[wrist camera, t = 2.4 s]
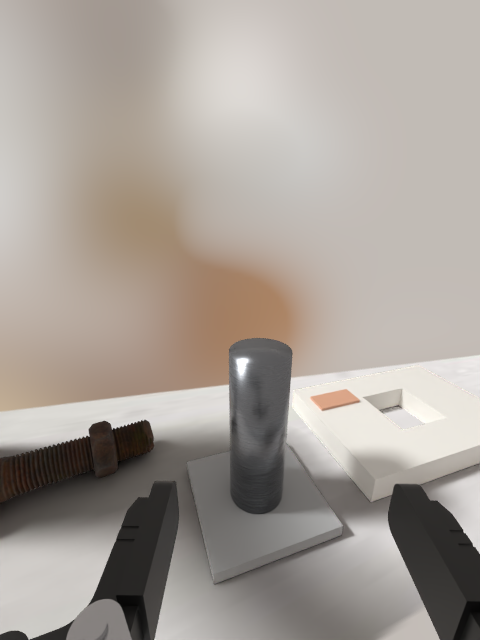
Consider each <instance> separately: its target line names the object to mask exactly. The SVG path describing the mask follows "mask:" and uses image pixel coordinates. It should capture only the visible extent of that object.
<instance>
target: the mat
mask: <svg viewBox="0 0 480 640" xmlns="http://www.w3.org/2000/svg"><path fill="white" fill-rule="evenodd" d="M187 471H188V475H189V479H190V483H191V488H192V492H193V496H194V501H195V505H196V509H197V513H198V518H199V522H200V526H201V530H202V535H203V539H204V543H205V547H206V552H207V556H208V560H209V564H210V569H211V573H212V577H213V581H214V584H216V583H219V582H221V581H224V580H227V579H229V578H232V577H234V576H237V575H240V574H242V573H245V572H247V571H250V570H253V569H255V568H258V567H260V566H263V565H265V564H268V563H271V562H273V561H276V560H278V559H281V558H284V557H286V556H289V555H291V554H294V553H297V552H299V551H302V550H304V549H307V548H309V547H312V546H315V545H317V544H320V543H322V542H325V541H328V540H330V539H333V538H335V537H338V536H341V535H342V530H343V525H342V523H341V522H340V520H339V519H338V517H337V516H336V515H335V513H334V512H333V510H332V509H331V507H330V506H329V504H328V503H327V501H326V500H325V498H324V497H323V496H322V494H321V493H320V491H319V490H318V488H317V487H316V485H315V484H314V482H313V481H312V479H311V478H310V476H309V475H308V474H307V472H306V471H305V469H304V468H303V466H302V465H301V463H300V462H299V460H298V459H297V457H296V456H295V455H294V453H293V452H292V450H291V449H290V447H289V446H288V444H287V443H286V452H285V466H284V480H283V495H282V499H281V502H280V504H279V505H278V506H277V507H276V508H275V509H274V510H272V511H271V512H268V513H265V514H250V513H247V512H245V511H243V510H241V509H240V508H238V507H237V506H236V504H235V503H234V502H233V500H232V498H231V494H230V451H227V452H223V453H219V454H215V455H211V456H207V457H203V458H199V459H195V460H191V461H187Z"/></svg>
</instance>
